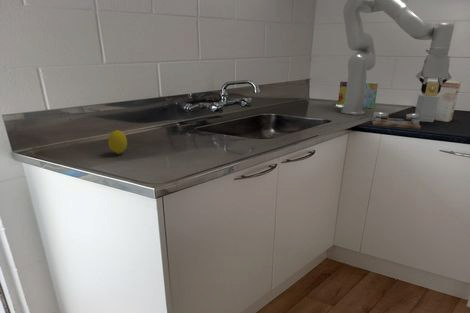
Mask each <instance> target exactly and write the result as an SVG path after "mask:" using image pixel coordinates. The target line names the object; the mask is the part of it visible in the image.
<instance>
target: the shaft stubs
mask: <svg viewBox="0 0 470 313" xmlns="http://www.w3.org/2000/svg"><path fill="white" fill-rule="evenodd" d="M389 116H390V113H389V112H382V111H381V112H380V111H373V114H372V117H373V119H374V121H375V122H380V121H381V119H384V118H385V119H386V120H388V121H389V123H390V124H403V125H406V123H407V122H403V121H405V119H406V120H411V123H412V124H413V125H420V122H421V121H420V120H419V119H418V118H420V117H421V115H420V113H415V112H414V113H407V114H406V115H405V119H404V118H390V117H389ZM397 121H402V122H397Z"/></svg>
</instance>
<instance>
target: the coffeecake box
mask: <svg viewBox="0 0 470 313" xmlns="http://www.w3.org/2000/svg"><path fill="white" fill-rule="evenodd" d="M427 82H437V83H438V79H432V78H428V80H427ZM461 82H462V81H452V80H448V81H446V82H445V83H444V84H443V85H441V90H440V92H439V94H437V96H438V97H439V100H438V104H437V108H436V113H435V117H434V121H437V122H445V123H449V122H451V121H452V120H453V116H454V112H455V107H456V104H457V100H458V94H459V92H460V91H459V90H460V87H461ZM421 94H423V93H422V92H421Z"/></svg>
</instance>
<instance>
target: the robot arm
mask: <svg viewBox="0 0 470 313" xmlns="http://www.w3.org/2000/svg"><path fill="white" fill-rule="evenodd" d="M377 12H384V13H385V14H386V15H388V17H390V18H391V19H392V20H393V21H394V22H395V24H397V25H398V27H400V29H402V30H403V31H404V32H405V33H406V34H408V36H410V37H411V38H413V39H415V40H418V41H430V40H431V41H430V45H429V46H430V47H429V48H427V49H425V53H428V54H427V55H426V57H425V59H424V62H423V65H422V68H421V70H420V71H419V72H418V73H417V74H416V75H415V78H417V79H418V80H419V81H420V83H421V88H420V91H421V94H422V93H425V91H426V82H427V80H428V79H437V80H438V83H439V87H438V92H437V94H439V92H440V90H441V85H443V84H444V83H445V82H446V81H451V79H452V76H451V75H450V73H449V70H450V61H451V60H450V59H451V57H450V55H449V53H450V52H449V50H450V47H451V42H452V38H453V34H454V28H455V25H454V23H452V22H437V23H432V22H428V21H427V22H426V21H424V20H422V19H421V18H420V17H419V16H417V15H416V14H415V13H414V12H413V11H412V10H411V6H410V4H409V3H408V2H406V1H405V0H346V1H345V3H344V5H343V9H342V13H343V15H342V16H343V22H344V27H345V35H346V41H347V47H348V48H349V50H351V51H353V52H354V51H356V53H354V54H352V55H351V56H350V58H349V59H348V62H347V80H346V81H347V88H346V96H345V103H344V104H342V105H338V103H336V104H335V106H334V107H335V109H340V113H342V114H345V115H355V116H357V115H358V116H361V115H362V116H363V115H365V110H364V109H363V108H362V107H363V100H364V93H365V86H366V82H367V72H369V71H371V70H372V69H373V68H375V65H376V63H377V58H376V57H377V56H376V50H375V44H374V39H373V37H372V35H371V34H370V33H369V32H366V31H364V23H363V20H362V19H363V18H362V17H361V13H363V14H371V13H377Z"/></svg>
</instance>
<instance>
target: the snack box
mask: <svg viewBox="0 0 470 313" xmlns="http://www.w3.org/2000/svg"><path fill="white" fill-rule="evenodd" d="M378 87H379V82H373V81H372V82H371V81H366V86H365V93H364V100H363V107H362V109H375V107H376V106H375V105H376V101H377V94H378ZM346 88H347V80H340V83H339V89H338V90H339V91H338V98H337V99H338V100H337V104H338V105H342V104H344V103H345V96H346Z"/></svg>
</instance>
